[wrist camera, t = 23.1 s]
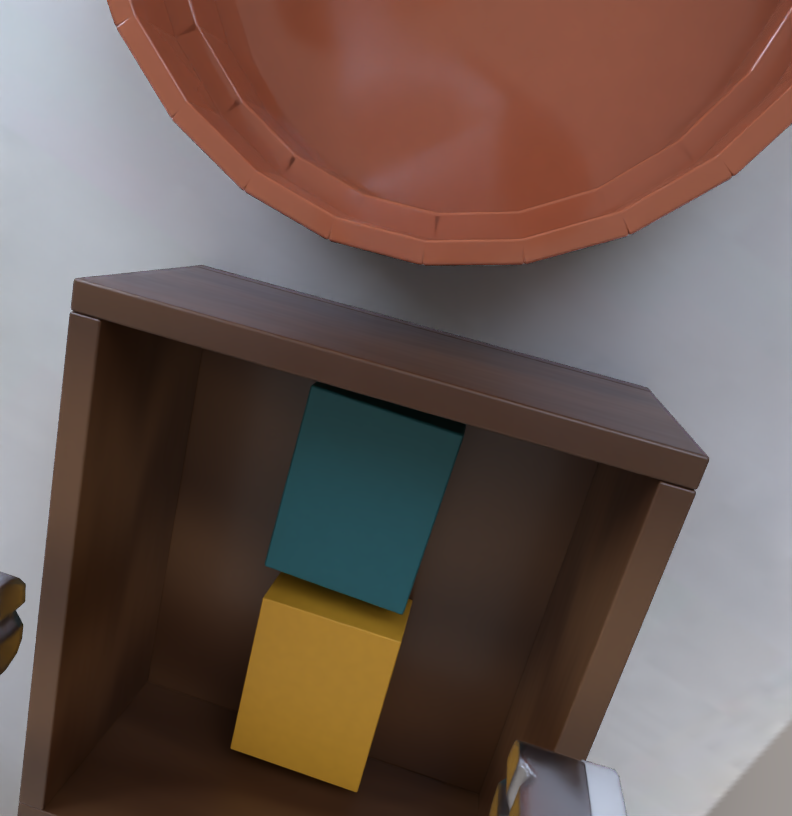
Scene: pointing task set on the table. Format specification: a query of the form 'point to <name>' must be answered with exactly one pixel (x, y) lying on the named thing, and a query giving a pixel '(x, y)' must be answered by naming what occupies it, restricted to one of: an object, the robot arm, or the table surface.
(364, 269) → the table surface
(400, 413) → the teal sponge
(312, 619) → the yellow rectangular block
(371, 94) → the bowl
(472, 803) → the holder
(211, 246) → the table surface
